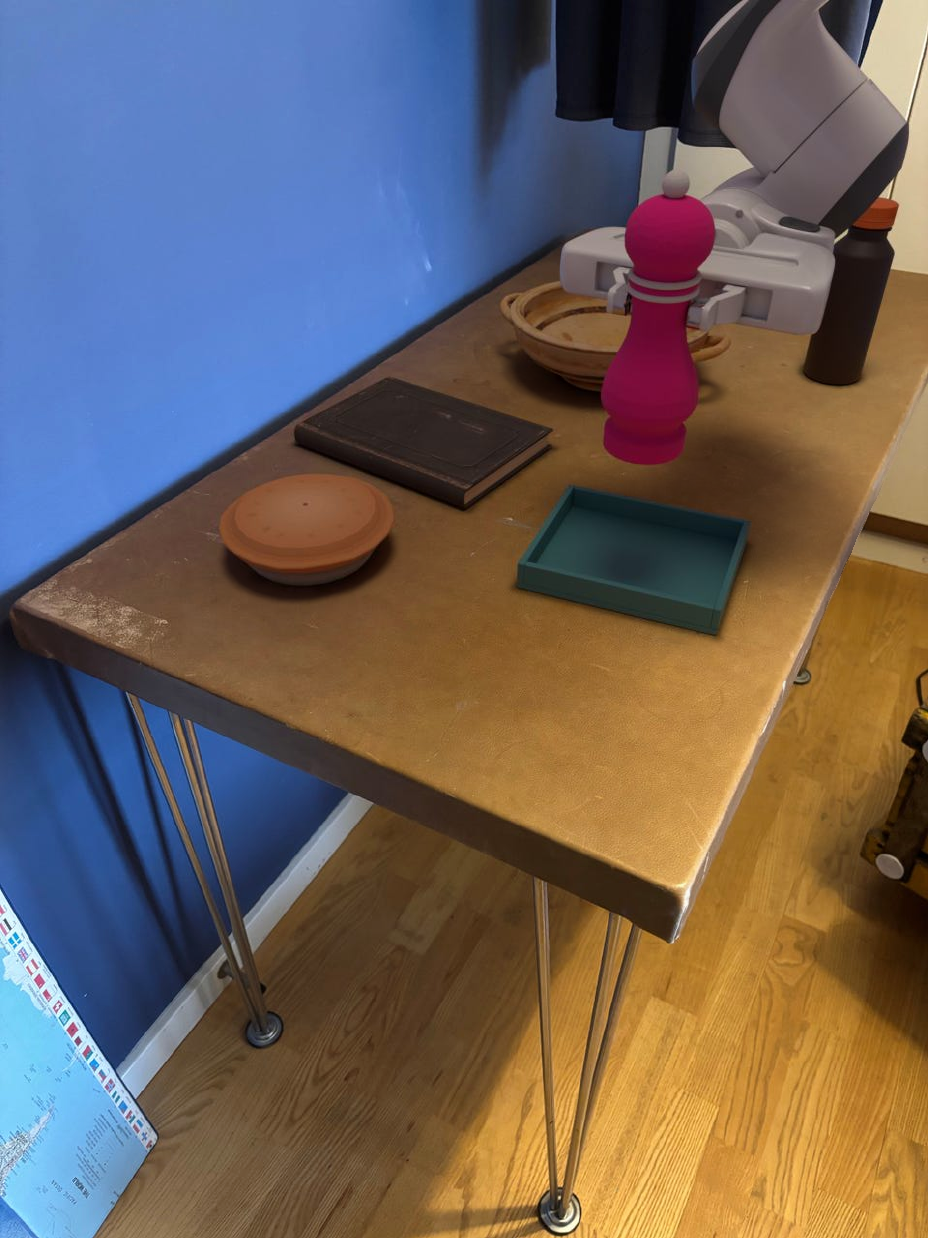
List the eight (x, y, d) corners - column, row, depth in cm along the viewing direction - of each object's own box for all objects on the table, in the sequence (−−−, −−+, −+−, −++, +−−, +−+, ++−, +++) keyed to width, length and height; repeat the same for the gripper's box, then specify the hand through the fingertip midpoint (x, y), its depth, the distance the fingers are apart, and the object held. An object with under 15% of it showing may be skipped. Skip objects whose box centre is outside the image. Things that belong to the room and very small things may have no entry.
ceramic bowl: (753, 364, 115) (765, 301, 110) (679, 441, 99) (690, 372, 94) (547, 319, 128) (550, 260, 123) (453, 381, 112) (451, 317, 107)
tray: (745, 544, 84) (751, 520, 82) (716, 635, 74) (721, 610, 72) (567, 507, 89) (569, 484, 87) (516, 587, 79) (517, 563, 77)
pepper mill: (593, 465, 69) (618, 182, 57) (599, 421, 75) (623, 154, 62) (690, 472, 68) (738, 186, 56) (689, 428, 74) (732, 157, 61)
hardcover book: (389, 393, 109) (388, 375, 108) (551, 447, 99) (552, 428, 97) (294, 445, 99) (292, 426, 98) (463, 511, 89) (462, 491, 87)
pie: (191, 553, 83) (180, 506, 80) (323, 489, 92) (318, 445, 89) (296, 626, 75) (288, 576, 72) (430, 548, 84) (428, 501, 81)
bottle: (801, 381, 111) (842, 207, 99) (804, 360, 116) (843, 191, 103) (860, 389, 109) (909, 212, 97) (860, 366, 114) (907, 196, 102)
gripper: (601, 197, 75) (526, 243, 66) (858, 232, 67) (812, 290, 58) (595, 274, 79) (523, 328, 70) (836, 316, 71) (790, 383, 62)
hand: (656, 311), depth 64 cm, fingers closed on pepper mill, 5 cm apart
